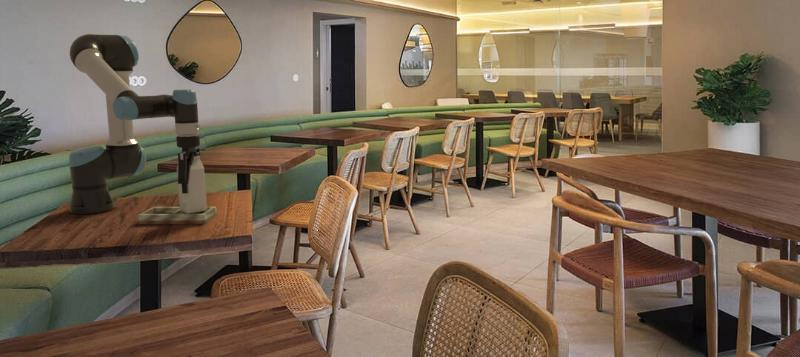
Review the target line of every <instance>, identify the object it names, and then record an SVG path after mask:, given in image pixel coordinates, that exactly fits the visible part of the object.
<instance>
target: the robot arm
mask: <svg viewBox="0 0 800 357" xmlns="http://www.w3.org/2000/svg"><path fill="white" fill-rule="evenodd" d="M139 56H140V55H139V51H138V47H137V44H136V43H135V42H134V40H133V39H132V38H131V37H129V36H127V35H120V34H119V35H118V34H93V33H86V34H84V35H80V36H78V37H76V38H75V40H74V41H73V42H72V43H71V45H70V48H69V59H70V61H71V62H72V65H73V66H74V67H75V68H76V70H78V71H79V72H81V73H84V74H86V75H87V77H89V79H90V80H91V81H93V83H94V84H95V85H96V86H97V87H98V88H99V89H100V90H101V91H102V92H103V93H104V94H105V102H106V114H107V125H108V127H107V128H108V136H109V137H108V138H109V139H108V140H107V141H106V142H105V148H104V147H103V146H100V145H95V146H94V145H93V146H87V147H83V148H78V149H75V150H73V151H71V152H70V153H69V155H68V157H69V158H68V160H69V162H68V166H69V170H70V179H71V180H70V181H71V186H72V188H71V189H72V194H71V197H70V202H69V206H68V207H69V208H68V210H69V213H71V214H74V215H90V214H98V213H102V212H109V211H111V210H113V209H115V201H114V199H113V196H112V194H111V193H110V191H109V189H108V183H107V182H108V181H107V180H112V179H113V180H114V179H120V178H127V177H128V178H130V177H133V176H137V175H139V174H141V173H142V172H143V171H144V170H145V167H146V164H147V163H146V162H147V154H146V152H145V149H144V148H143V146H141V145H139V141H138V140H137V139H136V138H134V137H135V136H134V125H133V120H134V121H135V120H143V119H157V118H158V119H159V118H174V126H175V127H174V128H175V129H174V130H175V135H176V138H175V139H176V146H177V148H181V153H177V158H178V160H177V161H178V163H177V166H178V179H177V185H178V184H181V189H182V201H183V203H191V192H190V183H188V182H189V174H190V167H191V165H192V162H193V160H194V156H200V160H201V159H202V158H201V152H200V150H201V149H200V148H199V146H201V138H200V135H199V134H200V128H201V126H200V125H199V112H198V100H197V93H196V92H197V91H195V90H194V89H192V88H191V89H174V90H173V91H172V94H158V95H138V93H136V92H135V91H134V90H133V88H131V86H130V85H131V84H130V76H131V74H132V73H133V72H134V69H133V68H134V67H136V66H137V65H138V62H139V58H140V57H139ZM201 161H202V160H201Z"/></svg>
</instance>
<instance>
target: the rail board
mask: <svg viewBox="0 0 800 357" xmlns="http://www.w3.org/2000/svg"><path fill="white" fill-rule="evenodd" d="M217 210H218V209H217V206H207V210H206V211H200V212H194V213H185V212H183V211H181V210H180V206H152V207H150V208H149V209H147V210H145V211H143V212H141V213H139V214H137V222H138V225H199V224H200V225H205V224H207V223H208V222H210V221H211V220H212V219H214V218H216V217H217V216H218V211H217Z"/></svg>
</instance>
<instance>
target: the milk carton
mask: <svg viewBox="0 0 800 357" xmlns="http://www.w3.org/2000/svg"><path fill="white" fill-rule="evenodd" d="M200 158H201V155H200V156H194V160H193V162H192V165H191V167H190V174H189V182H188V183H190V192H191V203H183V201H182V189H181V184H178V183H177V187H178V190H177V191H178V201H179V207H180V210H181V211H183V212H185V213H194V212H200V211H206V210H207V207H208V202H207V188H206V175H205V174H206V173H205V167H204V164H203V162H202V160H200ZM176 175H177V177H176V179H177V180H178V165H177V166H176Z"/></svg>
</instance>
